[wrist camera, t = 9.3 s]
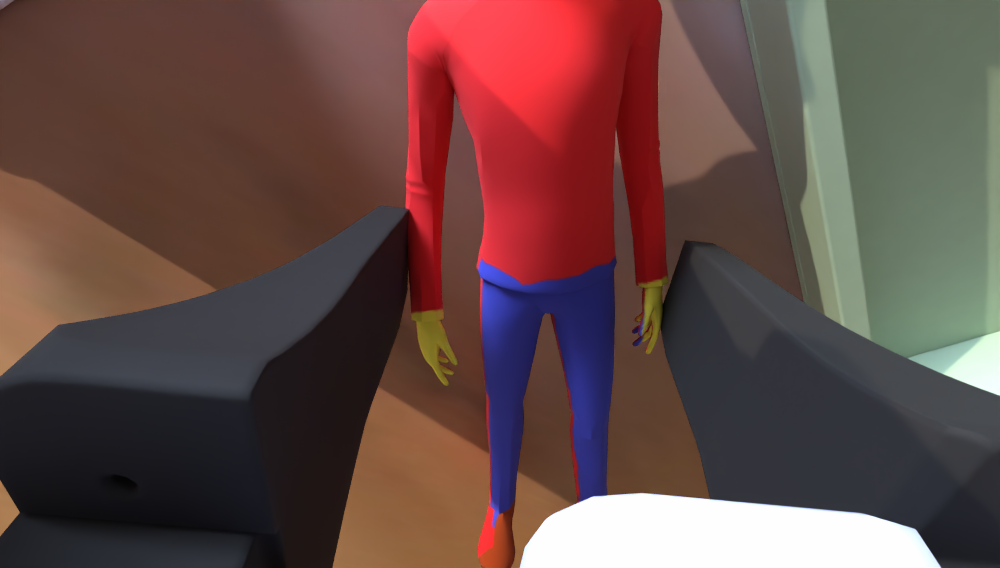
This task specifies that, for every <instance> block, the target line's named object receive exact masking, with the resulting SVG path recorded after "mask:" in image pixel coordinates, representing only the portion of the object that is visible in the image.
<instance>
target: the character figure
mask: <svg viewBox="0 0 1000 568" xmlns="http://www.w3.org/2000/svg"><path fill="white" fill-rule="evenodd" d="M661 23H662V10H661V5H660V3H659V1H658V0H428V1H427V2H426V3H425V4H424V5H423V6H422V7H421V9H420V10H419V12H418V14H417V15H416V17H415V18H414V20H413V22H412V24H411V26H410V28H409V33H408V39H407V40H408V117H409V149H408V160H407V172H406V182H407V184H406V190H407V192H406V206H405V208H407V209H409V223H408V270H409V283H410V299H411V319H412V320H413V321H416V326H417V336H418V341H419V346H420V348H421V351H422V354H423V356H424V358H425V360H426V361H427V362H428V364H429V365H431V366H432V367H433V369H434V371H435V373H436V375H437V376H438V378H439V379H440V381H441V382H442V383H443V385H445V386H448V385H449V382H448V380H447V379H446V377H445V375H444V374H443V373H445V374H448V375H453V373H454V372H453V370H451V369H449V368H447V367H445V366H443V365H441V364H439V362H443V363H447V362H448V361H449V360H450V361H451V363H452V364H454V365H457V363H458V361H457V359H456V356H455V354H454V353H453V351H452V349H451V347H450V345H449V342H448V339H447V335H446V332H445V329H444V327H443V325H442V322H441V321H440V320H442V319H443V302H442V280H441V236H442V216H443V201H444V186H445V172H446V165H447V158H448V150H449V143H450V135H451V128H452V121H453V104H454V92H455V94H456V97H457V100H458V102H459V105H460V108H461V111H462V114H463V117H464V120H465V122H466V125H467V127H468V130H469V132H470V134H471V136H472V138H473V142H474V147H475V154H476V161H477V167H478V173H479V179H480V185H481V191H482V197H483V203H484V214H485V218H484V230H483V238H482V243H481V247H480V250H479V256H478V262H477V270H478V272H479V275H480V277H481V281H480V334H481V349H482V358H483V369H484V380H485V390H486V394H487V402H486V422H487V434H488V441H489V452H490V491H489V507H488V511H487V515H486V519H485V522H484V526H483V529H482V533H481V536H480V540H479V546H478V556H479V561H480V563H481V566H482V568H511V566H512V564H513V562H514V558H515V545H514V538H513V531H512V518H513V513H514V506H515V495H516V480H517V471H518V464H519V457H520V449H521V442H522V435H523V424H524V409H523V399H524V396H525V392H526V388H527V384H528V380H529V376H530V371H531V367H532V363H533V358H534V354H535V349H536V344H537V339H538V334H539V329H540V326H541V322H542V317H543V315H544V314H545V313H550V315H551V320H552V324H553V328H554V332H555V336H556V340H557V345H558V349H559V353H560V357H561V361H562V366H563V371H564V377H565V382H566V386H567V392H568V399H569V405H570V409H571V423H570V437H571V448H572V459H573V467H574V476H575V485H576V494H577V503H579V502H581V501H584V500H586V499H588V498H591V497H593V496H607V452H608V422H609V410H610V404H611V394H612V384H613V370H614V344H615V341H614V329H615V293H614V268H615V266H616V263H617V262H616V255H615V243H614V202H613V168H614V151H615V131H616V130H617V137H618V144H619V153H620V158H621V164H622V170H623V176H624V182H625V188H626V194H627V200H628V205H629V212H630V220H631V228H632V235H633V247H634V260H635V275H636V285H637V286H639V287H643V291H642V313H641V314H640V315H639V316H637V317H636V318H635V321H636V322H638V321H640V320H641V321H640V325H638V326H637V327H635V328H634V329H633V330H632V333H634V334H635V333H637V332H638V333H639V336H640V337H639V338H638V339H636V340H635V341H634V342H633V344H632V345H633V346H637V345H639V344H641V343H642V342H644V341H645V340H647V339H648V338H649V337H650V336H651V337H650V340H649V343H648V345H647V348H646V350H645V352H646V353H647V354H650V353H651V351H652V349H653V347H654V345H655V343H656V341H657V338H658V334H659V331H660V327H661V322H662V312H663V301H662V289H663V285H665V284H667V283H668V274H667V264H666V243H665V214H664V195H663V183H662V174H661V166H660V151H659V147H660V141H659V133H658V59H659V47H660V35H661ZM649 325H650V326H649ZM647 326H649V328H648V330H647V331H646V332H645V330H646V327H647ZM440 347H441V348H442V349H443V351H444V352H445V353H446V355H447V357H448V358H449V360H448V359H447V358H445V357H443V356H440V355H438V354H439V352H440V351H441V349H440Z"/></svg>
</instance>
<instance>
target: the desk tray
mask: <svg viewBox="0 0 1000 568" xmlns="http://www.w3.org/2000/svg"><path fill="white" fill-rule="evenodd" d="M740 4H741V9H742V14H743V18H744V23H745V28H746V32H747V37H748V42H749V46H750V51H751V56H752V60H753V65H754V70H755V75H756V79H757V84H758V89H759V93H760V98H761V103H762V107H763V112H764V117H765V122H766V126H767V131H768V136H769V140H770V145H771V150H772V154H773V159H774V164H775V168H776V173H777V178H778V183H779V187H780V192H781V197H782V201H783V206H784V211H785V215H786V220H787V225H788V230H789V234H790V239H791V244H792V248H793V253H794V258H795V262H796V267H797V272H798V276H799V281H800V286H801V291H802V295H803V300H804V303H806V304H807V305H809V306H811V307H812V308H814V309H815V310H817V311H819V312H820V313H822V314H824V315H825V316H827V317H828V318H830V319H832V320H834V321H835V322H837V323H839V324H841V325H842V326H844V327H846V328H848V329H849V330H851V331H853V332H855V333H857V334H859V335H861V336H863V337H865V338H867V339H869V340H870V341H872V342H874V343H876V344H878V345H880V346H882V347H884V348H886V349H888V350H890V351H892V352H895V353H897V354H899V355H901V356H903V357H905V358H908V359H910V360H912V361H914V362H917V363H919V364H921V365H924V366H926V367H928V368H930V369H933V370H935V371H937V372H940V373H942V374H944V375H947V376H949V377H952V378H954V379H957V380H959V381H962V382H965V383H967V384H970V385H972V386H975V387H978V388H980V389H983V390H986V391H989V392H991V393H994V394H997V395H1000V0H740Z"/></svg>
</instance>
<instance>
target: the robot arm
mask: <svg viewBox="0 0 1000 568" xmlns="http://www.w3.org/2000/svg"><path fill="white" fill-rule="evenodd" d="M12 1H14V0H0V10H1V9H3V8H4V7H5V6H7V5H8V4H10V3H11V2H12ZM408 223H409V209H407V208H398V207H389V206H379V207H377V208H376V209H374V210H373V211H371V212H370V213H368V214H367V215H366V216H364V217H363V218H361V219H360V220H358V221H357V222H356V223H354V224H353V225H351V226H350V227H348V228H347V229H345V230H344V231H342V232H341V233H339V234H338V235H336V236H335V237H333V238H331V239H330V240H328V241H326V242H325V243H323V244H321V245H320V246H318V247H316V248H314V249H313V250H311V251H309V252H307V253H306V254H304V255H302V256H300V257H299V258H297V259H295V260H293V261H291V262H289V263H287V264H285V265H283V266H281V267H279V268H276V269H274V270H272V271H269V272H267V273H265V274H262V275H260V276H258V277H255V278H253V279H250V280H248V281H245V282H242V283H239V284H236V285H233V286H230V287H227V288H224V289H221V290H218V291H215V292H212V293H210V294H207V295H203V296H200V297H196V298H192V299H189V300H185V301H181V302H178V303H174V304H169V305H165V306H161V307H157V308H153V309H148V310H143V311H139V312H134V313H129V314H123V315H117V316H111V317H105V318H99V319H93V320H87V321H81V322H76V323H68V324H61V325H58V326H57V327H56V328H54V329H53V330H52V331H51V332H50V333H49V334H48V335H46V336H45V337H44V338H43V339H42V340H41V341H40V342H39V343H38V344H36V345H35V346H34V347H33V348H32V349H31V350H30V351H29V352H27V353H26V354H25V355H24V356H23V357H22V358H21V359H20V360H18V361H17V362H16V363H15V364H14V365H13V366H12V367H11V368H10V369H8V370H7V371H6V372H5V373H4V374H3V375H2V376H1V377H0V480H1V482H2V483H3V485H4V487H5V488H6V490H7V492H8V493H9V495H10V497H11V498H12V500H13V502H14V503H15V505H16V506H17V508H18V510H19V511H20V513H19V515H18V516H17V517H16V518H15V519H14V521H13V522H12V523H11V524H10V525H9V527H8V528H7V529H6V530H5V531H4V533H3V534H2V535H1V536H0V568H332V566H333V562H334V557H335V553H336V548H337V543H338V539H339V534H340V529H341V525H342V520H343V515H344V511H345V507H346V502H347V498H348V494H349V489H350V485H351V480H352V476H353V472H354V467H355V463H356V459H357V455H358V451H359V447H360V443H361V439H362V434H363V430H364V426H365V423H366V420H367V416H368V413H369V410H370V407H371V404H372V401H373V399H374V396H375V393H376V390H377V388H378V385H379V382H380V379H381V377H382V374H383V371H384V369H385V366H386V363H387V360H388V358H389V355H390V352H391V349H392V347H393V344H394V341H395V338H396V335H397V333H398V330H399V327H400V322H401V318H402V313H403V309H404V304H405V299H406V294H407V289H408ZM661 332H662V338H663V343H664V348H665V353H666V357H667V360H668V363H669V366H670V369H671V372H672V375H673V378H674V381H675V383H676V386H677V389H678V392H679V395H680V398H681V400H682V403H683V406H684V409H685V412H686V414H687V417H688V420H689V423H690V426H691V429H692V431H693V434H694V437H695V440H696V443H697V447H698V450H699V453H700V457H701V461H702V465H703V470H704V474H705V478H706V483H707V487H708V492H709V496H710V499H702V498H691V497H680V496H669V495H658V494H647V493H635V494H621V495H607V496H593V497H591V498H588V499H586V500H584V501H581V502H579V503H577V504H575V505H572V506H570V507H568V508H565V509H563V510H561V511H559V512H556V513H554V514H552V515H551V516H550V517H548V518H547V519H546V520H545V521H544V522H543V524H542V525H541V526H540V528H539V529H538V530H537V532H536V533H535V534H534V536H533V537H532V538H531V540H530V541H529V542H528V544H527V545H526V546H525V549H524V553H523V557H522V561H521V565H520V568H1000V395H997V394H994V393H991V392H989V391H986V390H983V389H980V388H978V387H975V386H972V385H970V384H967V383H965V382H962V381H959V380H957V379H954V378H952V377H949V376H947V375H944V374H942V373H940V372H937V371H935V370H933V369H930V368H928V367H926V366H924V365H921V364H919V363H917V362H914V361H912V360H910V359H908V358H905V357H903V356H901V355H899V354H897V353H895V352H892V351H890V350H888V349H886V348H884V347H882V346H880V345H878V344H876V343H874V342H872V341H870V340H869V339H867V338H865V337H863V336H861V335H859V334H857V333H855V332H853V331H851V330H849V329H848V328H846V327H844V326H842V325H841V324H839V323H837V322H835V321H834V320H832V319H830V318H828V317H827V316H825V315H824V314H822V313H820V312H819V311H817V310H815V309H814V308H812V307H811V306H809V305H807V304H806V303H804V302H803V301H801V300H799V299H798V298H796V297H795V296H793V295H792V294H790V293H789V292H787V291H786V290H784V289H783V288H781V287H780V286H778V285H777V284H775V283H774V282H773V281H771V280H770V279H768V278H767V277H765V276H764V275H762V274H761V273H759V272H758V271H757V270H755V269H754V268H752V267H751V266H749V265H748V264H746V263H745V262H743V261H742V260H740V259H739V258H737V257H736V256H734V255H733V254H731V253H730V252H728V251H726V250H725V249H723V248H721V247H719V246H717V245H715V244H713V243H705V242H696V241H687V240H685V242H684V245H683V248H682V251H681V254H680V257H679V260H678V263H677V265H676V268H675V271H674V274H673V277H672V280H671V283H670V286H669V289H668V292H667V294H666V297H665V300H664V303H663V312H662V322H661Z"/></svg>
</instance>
